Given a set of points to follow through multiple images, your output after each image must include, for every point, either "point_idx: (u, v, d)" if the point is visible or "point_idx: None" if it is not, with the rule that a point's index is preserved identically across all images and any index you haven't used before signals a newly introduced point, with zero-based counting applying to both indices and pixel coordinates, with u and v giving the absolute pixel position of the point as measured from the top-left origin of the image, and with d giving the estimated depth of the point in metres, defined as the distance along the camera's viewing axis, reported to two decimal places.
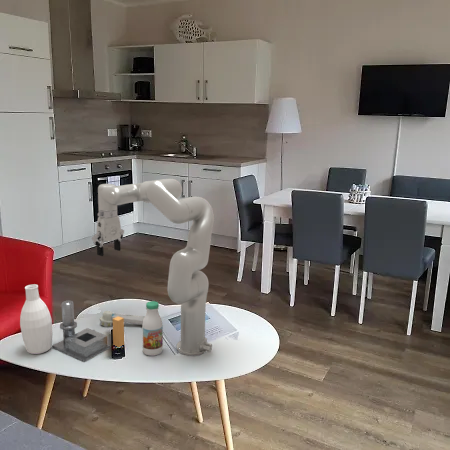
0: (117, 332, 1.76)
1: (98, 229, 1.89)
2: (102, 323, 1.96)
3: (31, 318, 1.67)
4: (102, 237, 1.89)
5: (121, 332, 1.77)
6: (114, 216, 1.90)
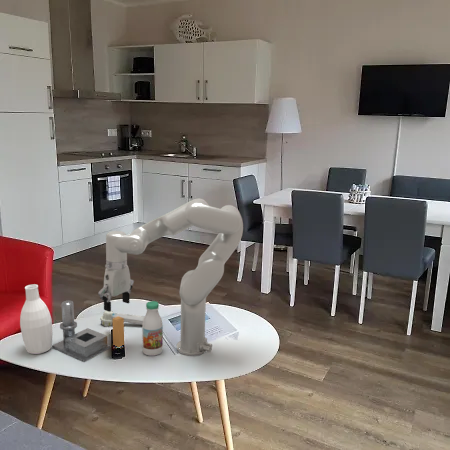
0: (117, 332, 1.76)
1: (106, 282, 1.69)
2: (103, 322, 1.96)
3: (31, 318, 1.67)
4: (110, 291, 1.68)
5: (121, 332, 1.77)
6: (123, 267, 1.70)
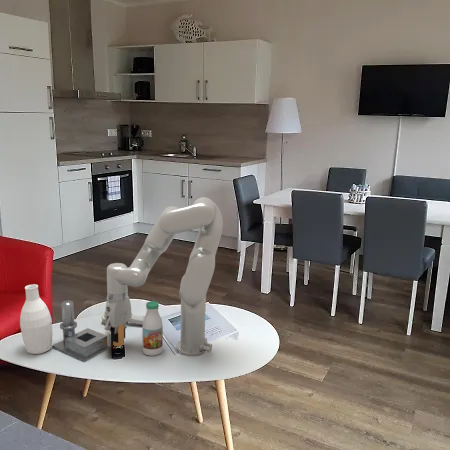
0: (117, 332, 1.76)
1: (107, 314, 1.72)
2: (103, 321, 1.97)
3: (31, 318, 1.67)
4: (111, 323, 1.71)
5: (121, 332, 1.77)
6: (124, 299, 1.73)
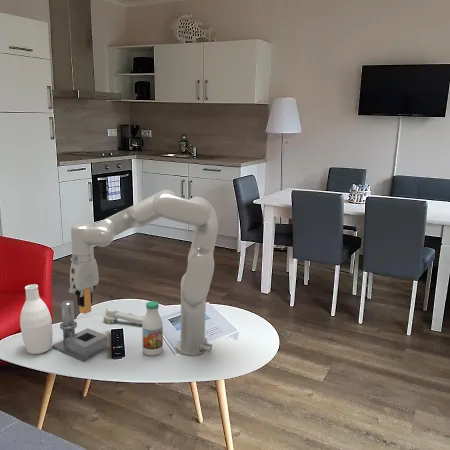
0: None
1: (72, 276, 1.65)
2: (105, 320, 1.99)
3: (31, 318, 1.67)
4: (76, 285, 1.64)
5: (87, 296, 1.70)
6: (90, 261, 1.66)
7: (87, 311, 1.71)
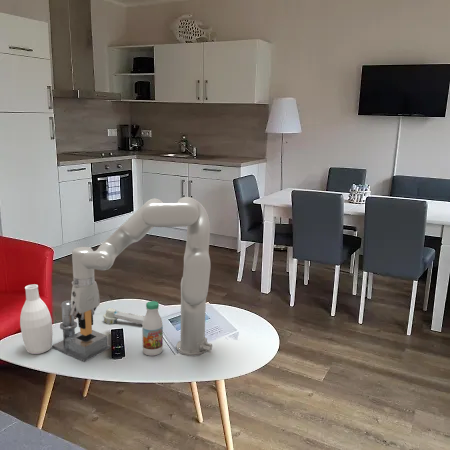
0: (84, 318, 1.71)
1: (73, 299, 1.67)
2: (105, 320, 1.99)
3: (31, 318, 1.67)
4: (77, 308, 1.66)
5: (88, 318, 1.72)
6: (91, 284, 1.68)
7: (88, 333, 1.73)
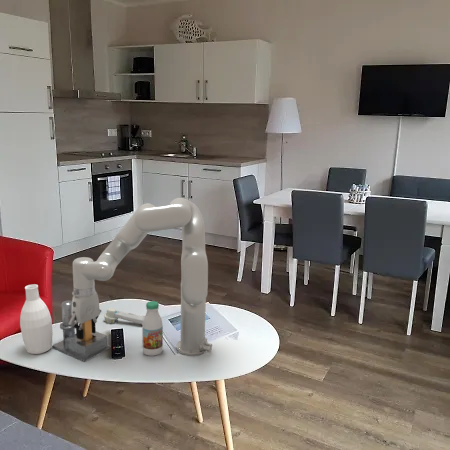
0: (84, 333, 1.72)
1: (73, 309, 1.68)
2: (105, 319, 1.99)
3: (31, 318, 1.67)
4: (77, 318, 1.67)
5: (88, 333, 1.74)
6: (91, 294, 1.69)
7: None
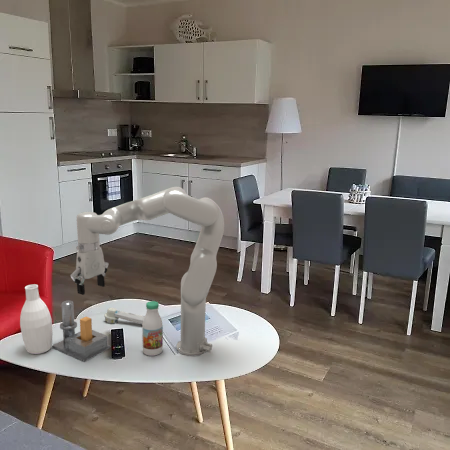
0: (84, 333, 1.72)
1: (78, 265, 1.65)
2: (106, 319, 1.99)
3: (31, 318, 1.67)
4: (82, 273, 1.64)
5: (88, 333, 1.74)
6: (96, 249, 1.66)
7: None
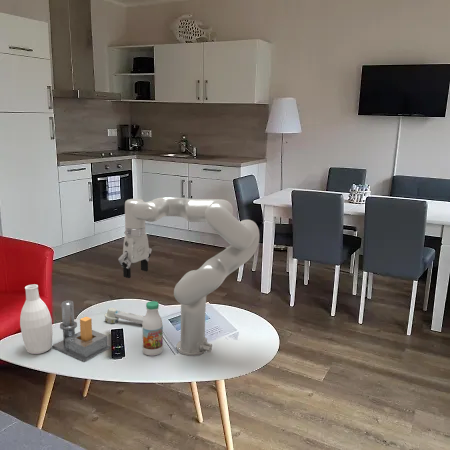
0: (84, 333, 1.72)
1: (125, 249, 1.72)
2: (106, 319, 1.99)
3: (31, 318, 1.67)
4: (129, 258, 1.71)
5: (88, 333, 1.74)
6: (142, 234, 1.73)
7: None
